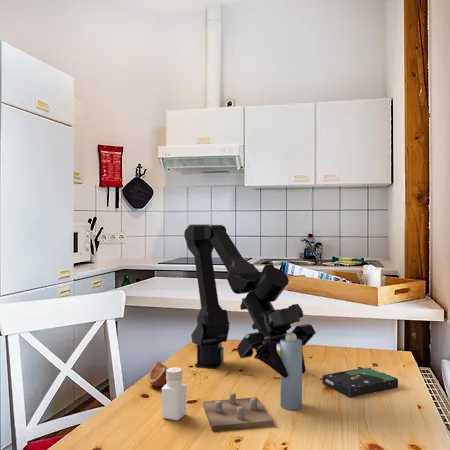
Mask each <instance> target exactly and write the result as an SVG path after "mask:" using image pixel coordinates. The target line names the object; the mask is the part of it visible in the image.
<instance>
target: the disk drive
mask: <svg viewBox="0 0 450 450" xmlns="http://www.w3.org/2000/svg"><path fill="white" fill-rule="evenodd" d="M322 384H323V385H324V386H326V387H328V388H330V389H332V390H334V391H335V392H338V393H339V394H341V395H343V396H346V397H347V398H350V399H351V398H356V397H361V396H366V395H371V394H376V393H380V392H384V391H389V390H394V389H398V388H399V378H397V377H394V376H392V375H390V374H387V373H384V372H380V371H378V370H375V369H372V367H364V368H363V367H362V368H360V367H359V368H356V369H350V370H349V369H348V370H344V371H338V372H333V373H328V374H322ZM375 392H376V393H375Z"/></svg>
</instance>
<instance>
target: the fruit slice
mask: <svg viewBox="0 0 450 450" xmlns="http://www.w3.org/2000/svg"><path fill="white" fill-rule="evenodd" d="M169 368H170V367H167V366H166V365H164V364H162V363H161V362H160V361H158V360H156V361H155V363H154V364H153V365H152V366H151V367H150V370H149V373H148V377H147V379H148V382H149V384H150V385H152V386H154V387H158V388H159V387H160V388H162V387H164V386H165V385H166V384H167V380H166V370H167V369H169Z"/></svg>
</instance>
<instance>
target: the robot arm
mask: <svg viewBox="0 0 450 450" xmlns="http://www.w3.org/2000/svg"><path fill="white" fill-rule="evenodd" d="M184 239H185V243H186V247H187V249H188V250H189V251H190V253H191V254H192V256H193V257H194V262H195V264H194V265H195V271H196V279H197V285H198V294H199V301H200V310H199V312H198V315H197V317H196V324H197V325H196V327H195V328H194V330H193V331H192V333H191V335H190V336H191V337H190V338H191V341H192V343H193V344H194V345H196V363H195V364H194V367H199V368H209V369H218V368H219V367H220V366H222V364H223V363H224V361H225V360H224V358H225V357H224V353H225V352H224V350H225V349H224V347H223V346H222V345H223V344H222V343H226V342H227V340H228V336H229V332H230V320H229V317H228V316H229V315H228V310H227V309H223V308H222V307H221V306H220V302H219V298H218V292H217V291H218V290H217V283H216V276H215V269H214V268H215V267H214V263H213V257H212V254H213V253H212V252H213V250H215V252H216V254H217V255H218V257H219V258H220V260H221V262H222V263H223V265H224V267H225V268H226V271H227V274H226V280H227V283H228V285H229V287H230V289H231V291H232V292H233V293H234V294H235V295H242V294H243V295H244V294H246V295H245V297H243V298H242V299H241V304H240V306H239V308H240V310H243V311H244V310H247V311H248V315H249V316H250V317H251V319H252V321H253V323H252V325H251V328H252V330H254V331H255V330H257V331H256V332H251V333H246V334H245V335H244V337H243V338H242V339H241V341H240V342H239V344H238V345H237V353H238V355H239V358H240V359H241V360H242V359H246V358H251V357H252V356H253V354H254V350H255V353H256V354H255V355H254V359H255V360H259V361H260V362H262V363H263V364H265V365H266V366H268V367H270V368H271V369H272V370H274V371H275V372H276V373H277V374H279V376H280V375H281V376H283V377H284V378H286V377H287V376H288V373H287V371H286V368H285V366H284V364H283V362H282V360H281V358H280V356H279V354H278V352H277V346H278V345H277V344H280V340H281V339H284V338H285V337H286V334H287V333H288V331H289V330H290V329H291V328H292V324H294V323H299V322H301V318H303V317H304V311H303V309H302V308H301V306H300V305H299V304H298V303H294V304H293V303H292V304H291V305H289V306H288V307H285V308H281V309H279V308H277V309H275V306H273V302H275V301H277V299H278V298H279V297H280V296H281V294H282V293H283V291H284V290H285V289H286V288H287V286H288V284H289V281H290V280H289V277H288V274H287V273H285V272H284V271H282V269H279V268H277V267H275V265H274V264H272V263H271V264H269V263H268V264H265V265H264V267H263V268H262V270H261V271H259V269H258V268H257V267H256V266H255V265H254V264H252V263H251V262H249V261H247V260H246V259H245V258H244V257H243V256H242V254H241V253H240V251H239V250H238V248H237V247H236V245H235V243H234V241H233V240H232V238H231V237H230V236H229V234H228V233H227V229H226V226H225V225H223V224H209V223H208V224H207V223H206V224H205V223H203V224H188V226H187V228H186V229H185V230H184ZM291 332H293V333H294V334H295V335H296V337H297V339H300V340H302V347H304V346H306V344H308V342H309V341H310V340H311V339H312V338H313V337H314V335H316V332H317V331H316V330H315V329H314V327H313V324H309V323H304V324H298V325H296V326H295V328H293V330H292V331H291ZM305 364H306V363H305V359H304V353H303V349H302V375H304V374H305V373H306V370H307V369H306V365H305Z"/></svg>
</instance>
